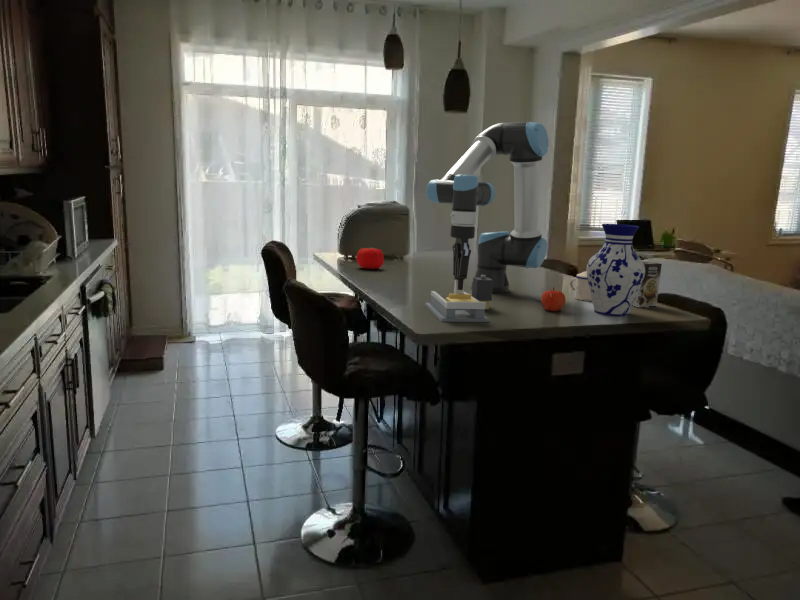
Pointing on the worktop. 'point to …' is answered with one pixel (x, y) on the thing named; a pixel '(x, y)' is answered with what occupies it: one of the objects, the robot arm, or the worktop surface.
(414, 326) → the worktop surface
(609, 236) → the vase
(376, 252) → the tomato
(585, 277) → the teacup with lid
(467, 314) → the socket
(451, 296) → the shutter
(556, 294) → the apple
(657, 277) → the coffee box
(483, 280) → the plug
